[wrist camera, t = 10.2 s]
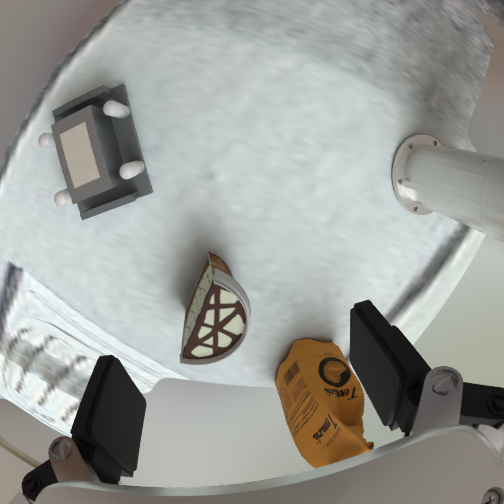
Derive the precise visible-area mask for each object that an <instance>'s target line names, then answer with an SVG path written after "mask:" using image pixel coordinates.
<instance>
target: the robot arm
mask: <svg viewBox="0 0 504 504" xmlns="http://www.w3.org/2000/svg"><path fill="white" fill-rule="evenodd" d="M392 179H393V187H394V191H395V194H396V196H397V198H398V200H399V202H400V204H401V205H402V206H403V207H404V208H405V209H407V210H408V211H409V212H412V213H414V214H417V215H426V214H430V213H431V212H433V211H435V212H438V213H440V214H442V215H445V216H447V217H449V218H452V219H454V220H456V221H458V222H461V223H463V224H465V225H467V226H469V227H471V228H474V229H476V230H478V231H480V232H482V233H484V234H486V235H488V236H491V237H492V238H494V239H497V240H499V241H503V242H504V158H501V157H497V156H492V155H487V154H482V153H477V152H472V151H466V150H460V149H454V148H447V147H443V146H442V144H441V143H440V142H439V141H438V140H437V139H435V138H434V137H432V136H429V135H424V134H418V135H414V136H411V137H409V138H408V139H406V140H405V141H404V142H403V144H402V145H401V146H400V148H399V149H398V151H397V154H396V156H395V159H394V163H393V171H392ZM350 362H351V365H352V367H353V369H354V370H355V372H356V374H357V376H358V378H359V380H360V381H361V383H362V385H363V387H364V389H365V391H366V393H367V395H368V396H369V398H370V400H371V402H372V404H373V406H374V408H375V410H376V412H377V413H378V415H379V417H380V419H381V421H382V423H383V425H384V426H387V425H388V426H389V427H390V429H391V431H393V430H395V429H397V428H399V427H400V429H401V431H402V432H404V436H403V438H402V439H399V440H397V441H394V442H392V443H389V444H386V445H384V446H381V447H379V448H376V449H374V450H371V451H368V452H366V453H363V454H360V455H357V456H354V457H351V458H348V459H345V460H342V461H339V462H336V463H333V464H329V465H326V466H323V467H319V468H315V469H312V470H308V471H304V472H300V473H296V474H291V475H286V476H282V477H277V478H272V479H266V480H260V481H254V482H247V483H239V484H230V485H220V486H208V487H180V488H165V487H164V488H163V487H141V486H140V487H139V486H127V485H123V484H122V482H121V481H120V476H125V477H133V471H135V470H136V469H137V462H138V455H139V448H140V441H141V435H142V428H143V421H144V416H145V410H146V401H145V398H144V397H143V395H142V394H141V392H140V391H139V390H138V388H137V387H136V385H135V384H134V382H133V381H132V379H131V378H130V376H129V375H128V373H127V372H126V370H125V368H124V367H123V365H122V364H121V362H120V360H119V359H118V358H115V357H114V356H113V355H105V356H100V357H99V358H98V360H97V362H96V365H95V367H94V370H93V372H92V375H91V377H90V380H89V382H88V385H87V387H86V390H85V392H84V395H83V398H82V400H81V403H80V406H79V408H78V411H77V414H76V417H75V420H74V423H73V426H72V429H71V432H70V433H71V434H72V438H70V437H68V436H61V437H58V438H56V439H55V440H54V441H53V442H52V443H51V445H50V447H49V451H48V454H49V460H47V461H46V462H44V463H43V464H41V465H40V466H38V467H37V468H35V469H34V470H32V471H31V472H29V473H28V474H27V475H26V476H25V477H24V479H23V481H22V490H23V492H21V491H19V492H18V493H17V494H16V496H15V497H14V498H13V499H12V501H11V502H10V503H9V504H504V388H501V387H494V386H486V385H479V384H472V383H466V382H463V379H462V377H461V374H460V373H459V372H458V371H457V370H455V369H453V368H451V367H447V366H440V367H436V368H434V369H431V368H430V367H429V366H428V364H427V363H426V362H425V360H424V359H423V358H422V357H421V355H420V354H419V353H418V352H417V351H416V349H415V348H414V347H413V345H412V344H411V343H410V342H409V341H408V339H407V338H406V337H405V336H404V334H403V333H402V332H401V331H400V330H399V328H397V327H396V326H394V325H393V326H391V325H390V324H389V323H388V322H387V320H386V319H385V318H384V317H383V315H382V314H381V313H380V312H379V311H378V310H377V308H376V307H375V306H374V305H373V304H372V302H371V301H370V300H365V301H362V302H359V303H356V304H354V308H352V309H351V310H350Z"/></svg>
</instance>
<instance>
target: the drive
mask: <svg viewBox="0 0 504 504" xmlns="http://www.w3.org/2000/svg"><path fill="white" fill-rule="evenodd" d="M51 127H52V132H53V136H54V140H55V145H56V149H57V152H58V156H59V160H60V164H61V167H62V171H63V174H64V178H65V181H66V184H67V187H68V190H69V194H70V197H71V200H72V203H73V204H75V203H78V202H80V201H82V200H85V199H87V198H89V197H92V196H94V195H96V194H99V193H101V192H104V191H106V190H109V189H111V188H114V187H116V186H118V185H119V184H121V183H123V182H125V181H127V180H128V179H123V178H122V177H121V176H120V172H119V171H120V168H121V166H122V165H124V164H123V160H122V157H121V153H120V150H119V146H118V143H117V139H116V135H115V131H114V127H113V123H112V119H111V116H109V115H106V114H105V113H104V111H103V108H99V107H96V106H92V105H90V106H87V107H85V108H83V109H81V110H79V111H77V112H75V113H73V114H71V115H70V116H68V117H66V118H64V119H62V120H60V121H58V122H57V123H55V124H53V125H51Z"/></svg>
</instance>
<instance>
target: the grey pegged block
mask: <svg viewBox="0 0 504 504" xmlns="http://www.w3.org/2000/svg"><path fill="white" fill-rule="evenodd" d="M90 105H92V106H96V107H99V108H103V111H104V113H105V114H106V115H109V116H111V119H112V123H113V127H114V131H115V135H116V139H117V143H118V146H119V150H120V153H121V157H122V160H123V164H124V165H122V166H121V168H120V171H119V172H120V176H121V177H122V178H123V179H128V180H127V181H125V182H123V183H121V184H119V185H118V186H116V187H114V188H111V189H109V190H106V191H104V192H101V193H99V194H96V195H94V196H92V197H89V198H87V199H85V200H82V201H80V202H78V203H77V205H78V208H79V210H80V213H81V214H80V216H81V218H82V220H85V219H87V218H90V217H92V216H95V215H97V214H100V213H103V212H105V211H108V210H111V209H114V208H116V207H119V206H122V205H125V204H128V203H130V202H133V201H135V200H136V199H137V198H139V197H142V196H145V195H148V194H151V193H153V190H152V187H151V184H150V180H149V177H148V174H147V170H146V167H145V163H144V160H143V156H142V152H141V149H140V145H139V141H138V137H137V133H136V130H135V126H134V122H133V118H132V113H131V109H130V105H129V101H128V96H127V92H126V87H125V85H121V86H118V87H116V88H113V89H110V88H108V87H106V86H101V87H99V88H97V89H95V90H93V91H90V92H88V93H86V94H84V95H82V96H80V97H78V98H76V99H74V100H72V101H70V102H68V103H66V104H64V105H63V106H61V107H59V108H57V109H55V110H53V111H52V112H53V117H54V118H55V123H57V122H58V121H60V120H62V119H64V118H66V117H68V116H70V115H71V114H73V113H75V112H77V111H79V110H81V109H83V108H85V107H87V106H90ZM39 145H40V146H41V147H42V148H44V147H54V146H56V145H55V140H54V136H53V133H43V134H42V135H41V136H40V138H39ZM54 200H55V203H56V204H57V205H58V206H63V205H65V204H67V203H69V202H70V201H72V200H71V197H70V194H69V190H68V188H67V189H65V190H62V191H60V192H58V193H56V195H55V197H54Z"/></svg>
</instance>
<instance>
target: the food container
mask: <svg viewBox="0 0 504 504" xmlns="http://www.w3.org/2000/svg"><path fill="white" fill-rule="evenodd" d="M250 318H251V308H250V302H249V299H248V297H247V295H246V293H245V291H244V289H243V288H242V287H241V286H240V284H239V283H238V282H237V281H236V280H234V279H233V276H232V274H231V271H230V269H229V268H228V266H227V265H226V264H225V262H224V261H223V260H221V259H220V258H219V257H217V256H216V255H214V254H212V253H208V255H207V257H206V260H205V262H204V265H203V267H202V270H201V272H200V275H199V277H198V280H197V282H196V285H195V287H194V290H193V292H192V295H191V297H190V300H189V303H188V305H187V308H186V311H185V320H184V329H183V338H182V348H181V354H180V363H182V364H186V365H206V364H212V363H215V362H218V361H221V360H223V359H225V358H227V357H228V356H230V355H231V354H233V353H234V352H235V351H236V350H237V349H238V348H239V347H240V346H241V344H242V343H243V341H244V339H245V338H246V335H247V333H248V330H249V326H250Z"/></svg>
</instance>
